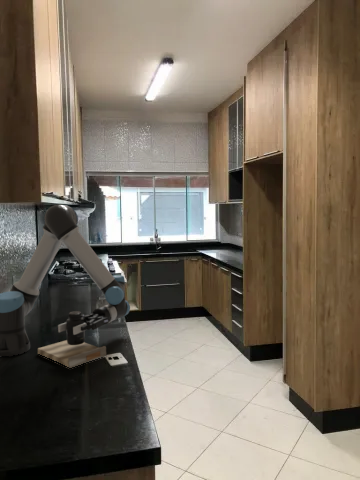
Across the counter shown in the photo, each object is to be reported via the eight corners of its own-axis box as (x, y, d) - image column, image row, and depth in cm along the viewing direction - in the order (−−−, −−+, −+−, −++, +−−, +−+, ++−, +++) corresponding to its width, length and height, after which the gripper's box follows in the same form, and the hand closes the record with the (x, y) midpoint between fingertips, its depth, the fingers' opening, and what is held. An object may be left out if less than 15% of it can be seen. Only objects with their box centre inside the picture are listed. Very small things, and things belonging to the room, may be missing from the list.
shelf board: (37, 354, 152) (37, 344, 152) (72, 344, 164) (72, 334, 164) (70, 369, 137) (70, 358, 137) (106, 356, 149) (106, 346, 149)
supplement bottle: (63, 344, 149) (61, 313, 148) (76, 338, 155) (74, 309, 154) (76, 346, 145) (74, 315, 145) (88, 341, 151) (87, 311, 151)
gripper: (123, 326, 162) (87, 342, 141) (86, 321, 170) (47, 336, 150) (122, 308, 161) (86, 322, 141) (85, 304, 170) (46, 317, 149)
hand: (66, 329), depth 145 cm, fingers closed on supplement bottle, 7 cm apart
